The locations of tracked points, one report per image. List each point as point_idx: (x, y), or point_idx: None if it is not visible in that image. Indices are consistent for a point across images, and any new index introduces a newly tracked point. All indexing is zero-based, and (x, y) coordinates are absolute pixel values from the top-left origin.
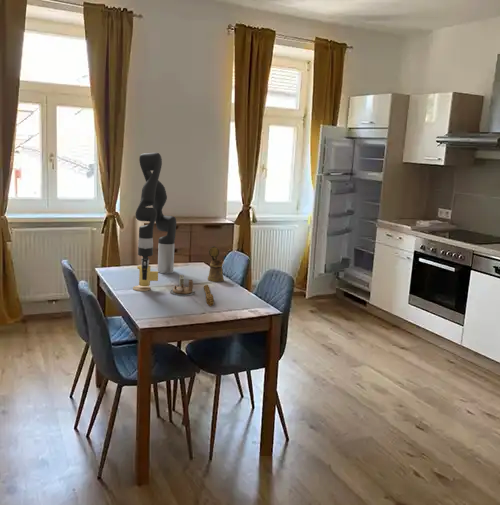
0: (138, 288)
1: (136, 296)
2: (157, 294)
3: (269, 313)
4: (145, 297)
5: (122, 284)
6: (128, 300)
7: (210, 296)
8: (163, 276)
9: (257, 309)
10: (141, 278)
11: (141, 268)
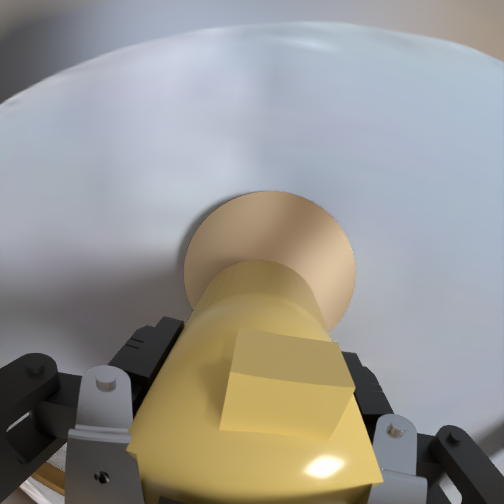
0: (242, 243)
1: (55, 198)
2: (103, 356)
3: (28, 493)
4: (39, 259)
5: (434, 130)
6: (3, 143)
7: (48, 485)
8: (492, 419)
9: (41, 497)
10: (194, 312)
11: (137, 421)
